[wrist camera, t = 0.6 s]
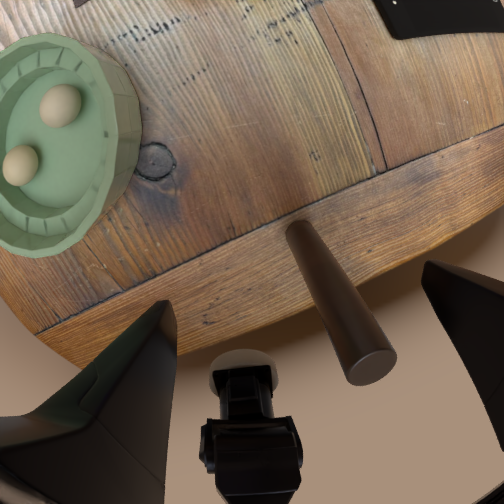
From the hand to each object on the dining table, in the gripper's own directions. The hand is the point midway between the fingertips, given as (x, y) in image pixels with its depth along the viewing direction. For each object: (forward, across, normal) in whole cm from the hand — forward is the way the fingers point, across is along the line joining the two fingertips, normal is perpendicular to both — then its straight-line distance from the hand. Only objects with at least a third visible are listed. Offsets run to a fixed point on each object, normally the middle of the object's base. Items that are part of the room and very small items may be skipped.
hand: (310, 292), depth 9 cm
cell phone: (+12, -18, -18) cm, 28 cm away
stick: (+12, -2, +3) cm, 13 cm away
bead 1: (+10, +17, -6) cm, 20 cm away
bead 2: (+10, +12, -9) cm, 18 cm away
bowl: (+12, +14, -7) cm, 20 cm away
